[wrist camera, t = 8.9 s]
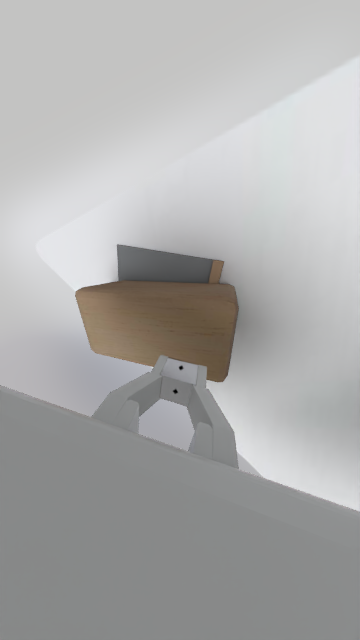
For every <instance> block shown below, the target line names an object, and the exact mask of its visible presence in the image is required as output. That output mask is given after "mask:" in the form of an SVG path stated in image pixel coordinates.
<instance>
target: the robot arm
mask: <svg viewBox="0 0 360 640" xmlns="http://www.w3.org/2000/svg"><path fill="white" fill-rule="evenodd" d="M206 377H207V367H206V366H202V365H197V364H193V363H189V362H185V361H182V360H178V359H175V358H171V357H167V356H164V355H160V357H159V358H158V360H157V362H156V364H155V366H154V368H153V369H152V371H151V373H150V372H148V373H146V374H144V375H142V376H140V377H138V378H136V379H134V380H133V381H131V382H129V383H127V384H125V385H123V386H121V387H119V388H118V389H116V390H114V391H112V392H110V393H109V395H108V396H107V397H106V399H105V400H104V401H103V403H102V404H101V405H100V406H99V408H98V409H97V411H96V412H95V413H94V414H93V415H92V417H89V416H86V415H83V414H80V413H77V412H75V411H72V410H69V409H66V408H63V407H60V406H57V405H55V404H51V403H49V402H46V401H43V400H40V399H38V398H35V397H32V396H29V395H26V394H23V393H20V392H18V391H15V390H12V389H9V388H6V387H3V386H1V385H0V640H360V512H359V511H356V510H353V509H350V508H348V507H345V506H342V505H339V504H336V503H333V502H331V501H328V500H325V499H322V498H319V497H316V496H313V495H311V494H308V493H305V492H302V491H299V490H296V489H294V488H291V487H288V486H285V485H282V484H279V483H276V482H274V481H271V480H268V479H265V478H262V477H259V476H256V475H254V474H251V473H248V472H245V471H242V470H239V467H238V460H237V451H236V443H235V435H234V431H233V429H232V428H231V426H230V424H229V423H228V421H227V419H226V418H225V416H224V414H223V413H222V411H221V409H220V408H219V406H218V404H217V403H216V401H215V399H214V398H213V396H212V394H211V393H210V391H209V389H207V388H206ZM160 398H161V399H164V400H168V401H171V402H175V403H178V404H181V405H184V406H187V408H188V411H189V414H190V417H191V421H192V424H193V427H194V430H195V432H194V435H193V438H192V441H191V444H190V447H189V450H188V451H186V450H183V449H180V448H177V447H174V446H171V445H168V444H165V443H163V442H160V441H157V440H154V439H151V438H149V437H146V436H143V435H140V434H138V427H139V417H140V416H141V415H142V414H143V413H144V412H145V411H146V410H148V409H149V408H150V407H151V406H152V405H153V404H155V403H156V402H157V401H158V400H159V399H160Z"/></svg>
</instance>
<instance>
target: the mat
mask: <svg viewBox="0 0 360 640" xmlns="http://www.w3.org/2000/svg"><path fill="white" fill-rule="evenodd" d="M117 254H118V276H119V281H123V280H128V281H154V282H180V283H206V284H218V283H219V279H220V275H221V271H222V267H223V264H224V261H218V260H212V259H205V258H199V257H193V256H186V255H180V254H174V253H167V252H161V251H155V250H149V249H142V248H136V247H130V246H123V245H117Z"/></svg>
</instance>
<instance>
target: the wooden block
mask: <svg viewBox="0 0 360 640" xmlns="http://www.w3.org/2000/svg"><path fill="white" fill-rule="evenodd" d="M75 297H76V300H77V303H78V306H79V310H80V313H81V317H82V320H83V323H84V327H85V330H86V333H87V337H88V340H89V343H90V346H91V349H92V350H93V351H94V352H95V353H97V354H102V355H106V356H110V357H114V358H119V359H122V360H127V361H131V362H135V363H139V364H143V365H148V366H152V367H154V366H155V364H156V362H157V360H158V358H159V357H160V355H164V356H167V357H171V358H175V359H178V360H182V361H185V362H189V363H193V364H197V365H202V366H206V367H207V377H206V380H210V381H215V382H223V381H224V380H225V378H226V377H227V375H228V370H229V364H230V358H231V352H232V346H233V339H234V333H235V327H236V321H237V315H238V309H239V308H238V303H237V297H236V292H235V288H234V286H231V285H229V284H206V283H180V282H154V281H128V280H123V281H117V282H111V283H106V284H100V285H94V286H89V287H83V288H81V289H79V290H77V291H76V295H75Z"/></svg>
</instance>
